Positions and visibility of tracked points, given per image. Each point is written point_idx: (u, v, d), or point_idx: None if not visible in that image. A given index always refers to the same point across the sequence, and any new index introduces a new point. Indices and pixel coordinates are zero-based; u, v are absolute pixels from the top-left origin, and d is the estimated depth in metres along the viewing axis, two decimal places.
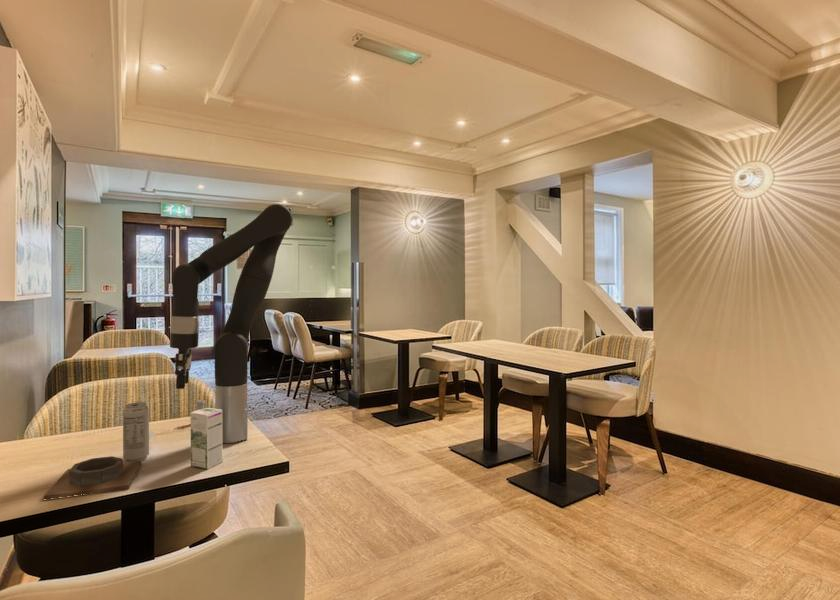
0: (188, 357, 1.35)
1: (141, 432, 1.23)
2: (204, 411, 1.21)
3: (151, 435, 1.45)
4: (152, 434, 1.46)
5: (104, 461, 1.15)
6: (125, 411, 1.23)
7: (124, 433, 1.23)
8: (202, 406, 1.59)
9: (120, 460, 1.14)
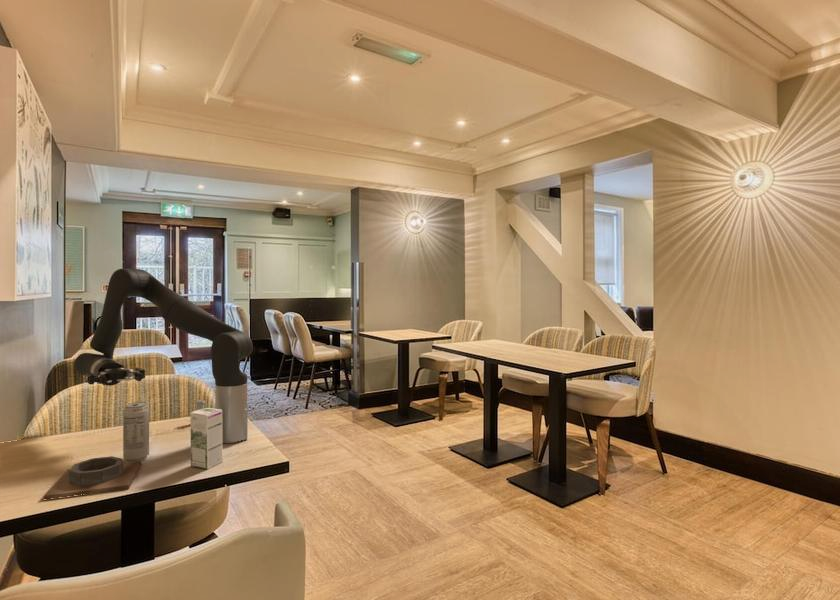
0: None
1: (141, 432, 1.23)
2: (204, 411, 1.21)
3: (152, 435, 1.45)
4: (153, 434, 1.46)
5: (104, 461, 1.15)
6: (125, 411, 1.23)
7: (124, 433, 1.23)
8: (202, 406, 1.59)
9: (120, 460, 1.14)
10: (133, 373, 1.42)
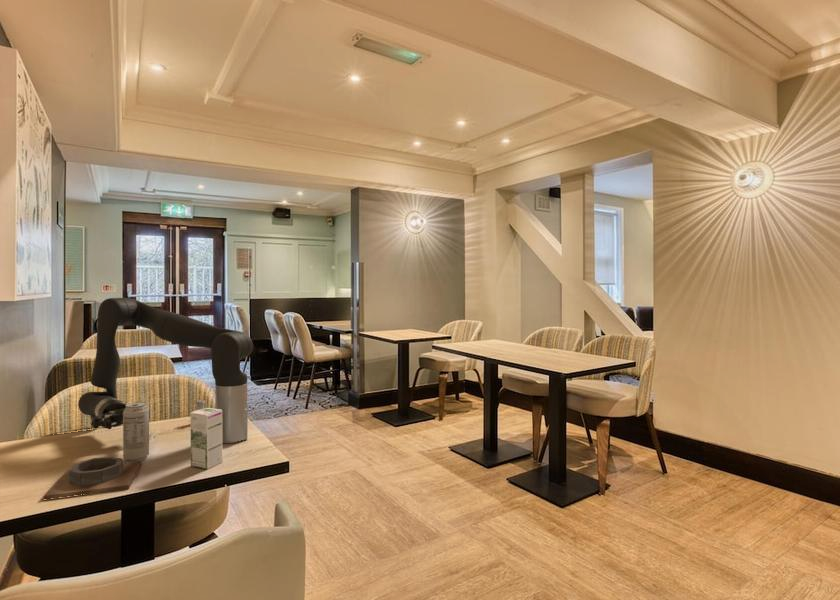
0: None
1: (141, 432, 1.24)
2: (204, 411, 1.21)
3: (153, 435, 1.45)
4: (153, 434, 1.46)
5: (104, 461, 1.15)
6: (125, 411, 1.23)
7: (124, 433, 1.23)
8: (202, 406, 1.59)
9: (120, 460, 1.14)
10: None
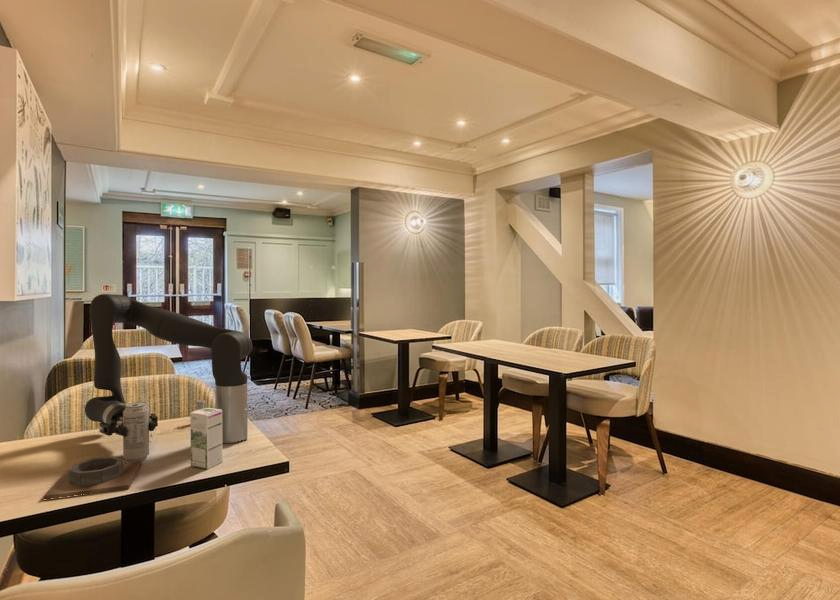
0: (120, 419, 1.28)
1: (141, 432, 1.23)
2: (204, 411, 1.21)
3: (153, 435, 1.45)
4: (154, 434, 1.46)
5: (104, 461, 1.15)
6: (125, 411, 1.23)
7: None
8: (202, 406, 1.59)
9: (120, 460, 1.14)
10: None
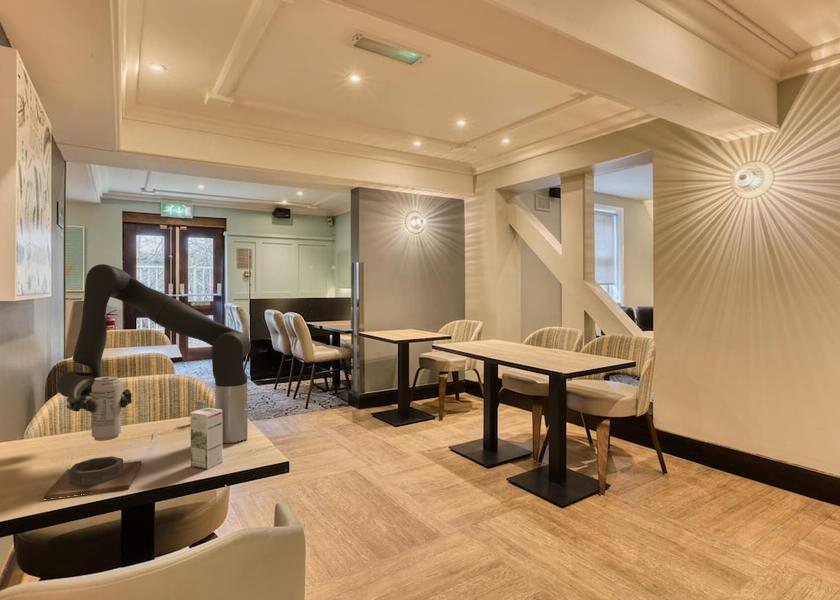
0: (89, 394, 1.18)
1: (111, 408, 1.13)
2: (204, 411, 1.21)
3: (155, 435, 1.45)
4: (155, 434, 1.46)
5: (104, 461, 1.15)
6: (94, 385, 1.12)
7: None
8: (202, 406, 1.59)
9: (120, 460, 1.14)
10: None
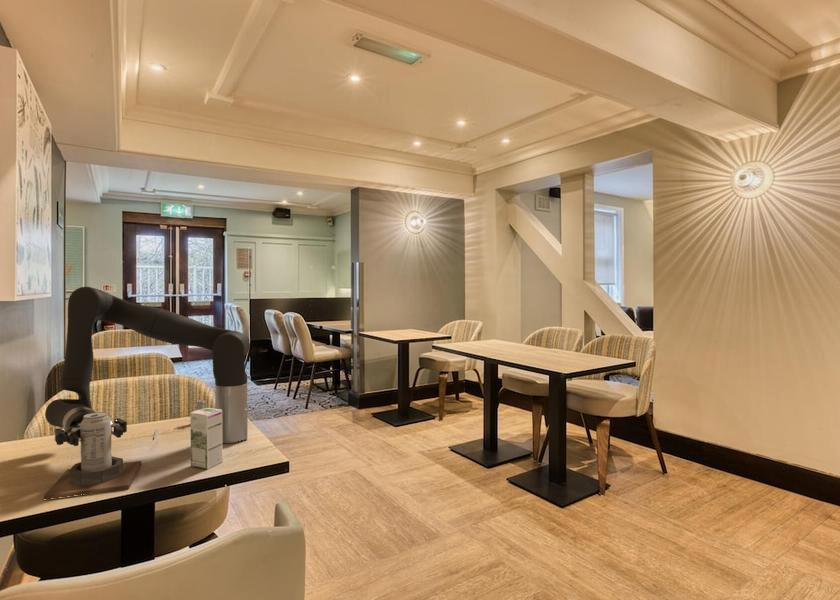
0: None
1: (102, 446, 1.09)
2: (204, 411, 1.21)
3: (156, 434, 1.45)
4: (157, 433, 1.46)
5: None
6: (83, 423, 1.08)
7: (82, 447, 1.08)
8: (202, 406, 1.59)
9: (120, 460, 1.14)
10: None
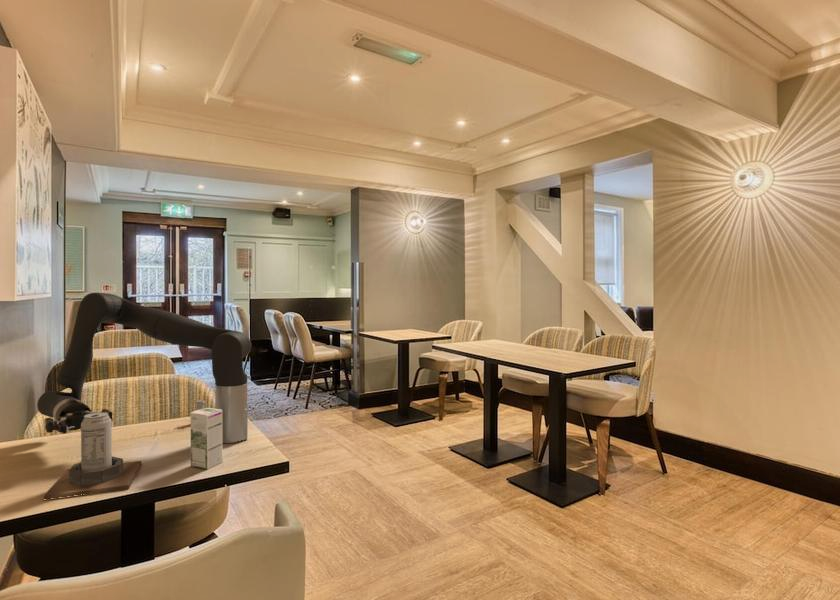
0: None
1: (102, 446, 1.09)
2: (204, 411, 1.21)
3: (158, 434, 1.45)
4: (159, 433, 1.46)
5: None
6: (83, 423, 1.08)
7: (82, 447, 1.08)
8: (202, 406, 1.59)
9: (120, 460, 1.14)
10: None
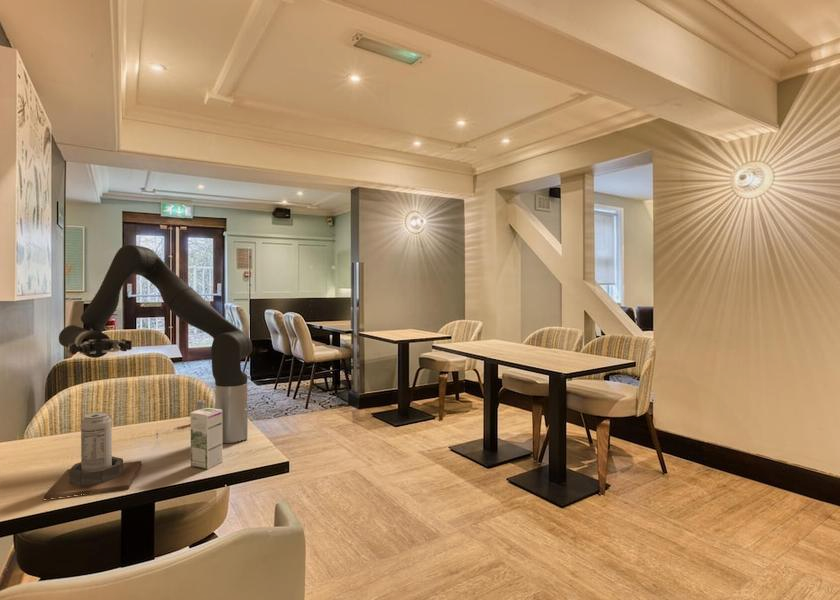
0: None
1: (102, 446, 1.09)
2: (204, 411, 1.21)
3: (159, 434, 1.46)
4: (160, 433, 1.47)
5: None
6: (83, 423, 1.08)
7: (82, 448, 1.08)
8: (202, 406, 1.59)
9: (120, 460, 1.14)
10: (119, 345, 1.34)
